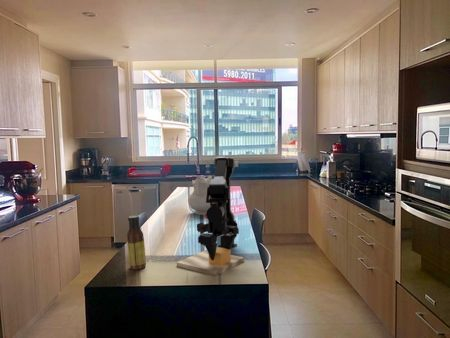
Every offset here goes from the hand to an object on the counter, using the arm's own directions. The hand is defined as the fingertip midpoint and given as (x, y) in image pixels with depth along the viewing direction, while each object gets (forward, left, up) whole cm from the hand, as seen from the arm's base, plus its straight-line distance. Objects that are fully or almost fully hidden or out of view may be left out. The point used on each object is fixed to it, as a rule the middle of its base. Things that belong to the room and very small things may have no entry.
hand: (219, 256), depth 139 cm
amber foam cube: (0, 0, -2) cm, 2 cm away
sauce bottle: (+18, -26, -4) cm, 32 cm away
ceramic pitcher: (-74, -68, -4) cm, 101 cm away
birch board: (0, -4, -4) cm, 6 cm away
